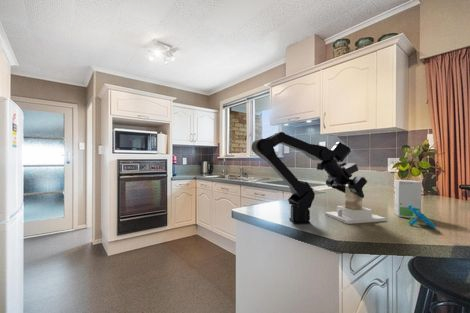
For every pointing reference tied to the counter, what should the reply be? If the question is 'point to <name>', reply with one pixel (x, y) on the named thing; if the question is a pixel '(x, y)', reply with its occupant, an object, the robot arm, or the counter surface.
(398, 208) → the skincare box
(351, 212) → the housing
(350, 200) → the block
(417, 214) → the blue cog crank toy
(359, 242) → the counter surface
